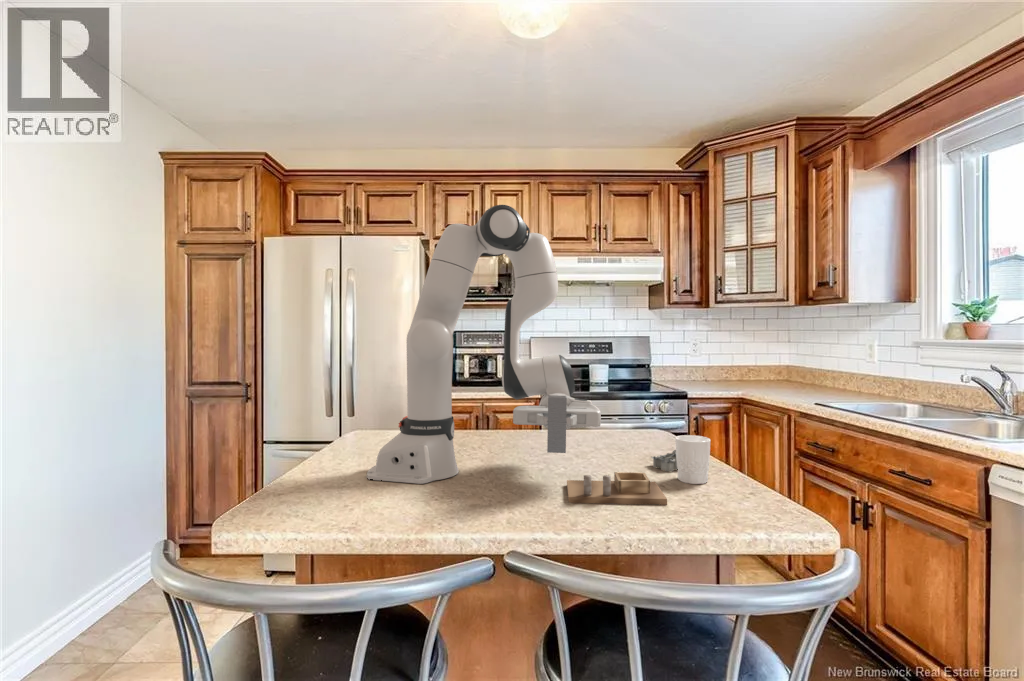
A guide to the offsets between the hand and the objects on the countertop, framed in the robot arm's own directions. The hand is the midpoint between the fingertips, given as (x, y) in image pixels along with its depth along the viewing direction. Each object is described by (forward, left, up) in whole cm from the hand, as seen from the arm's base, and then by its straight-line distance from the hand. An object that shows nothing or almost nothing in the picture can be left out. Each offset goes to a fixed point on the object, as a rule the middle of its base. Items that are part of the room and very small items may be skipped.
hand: (556, 421), depth 111 cm
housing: (+12, 0, -16) cm, 20 cm away
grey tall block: (0, +1, -7) cm, 7 cm away
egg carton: (+31, +24, -16) cm, 42 cm away
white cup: (+32, +12, -16) cm, 38 cm away
